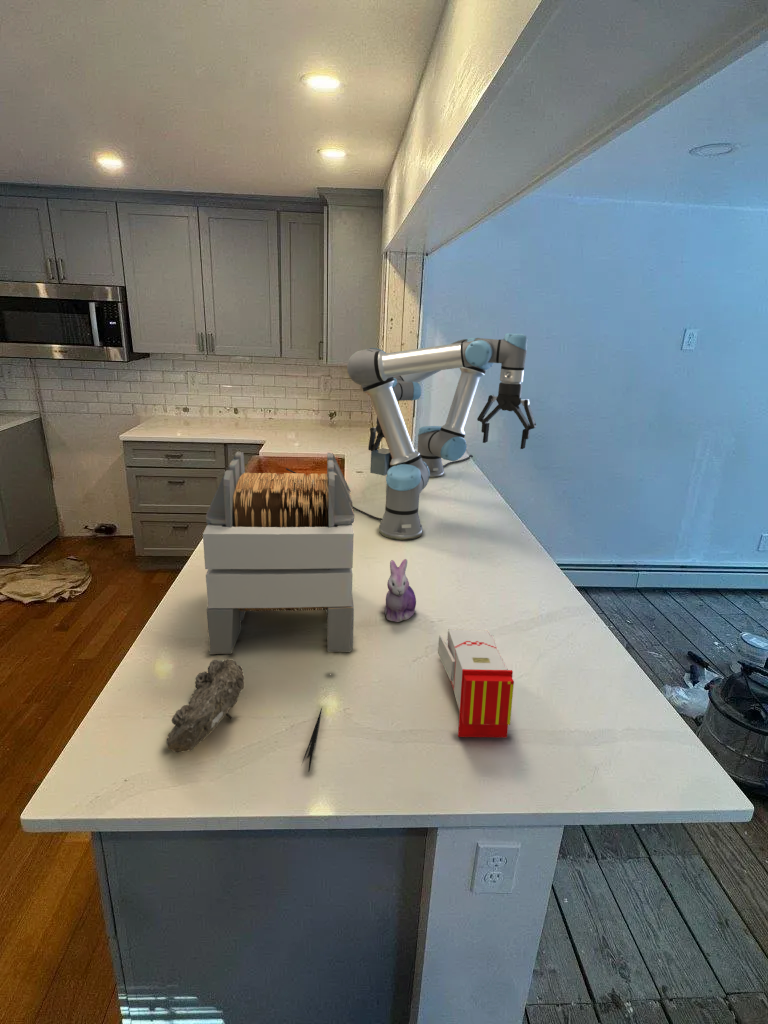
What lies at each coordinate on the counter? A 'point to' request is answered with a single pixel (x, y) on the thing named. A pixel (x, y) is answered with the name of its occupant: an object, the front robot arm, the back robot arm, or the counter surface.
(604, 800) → the counter surface
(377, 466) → the block
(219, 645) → the record crate stand
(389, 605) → the figurine
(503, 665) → the toy
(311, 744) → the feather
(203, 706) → the fossil
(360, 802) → the counter surface
